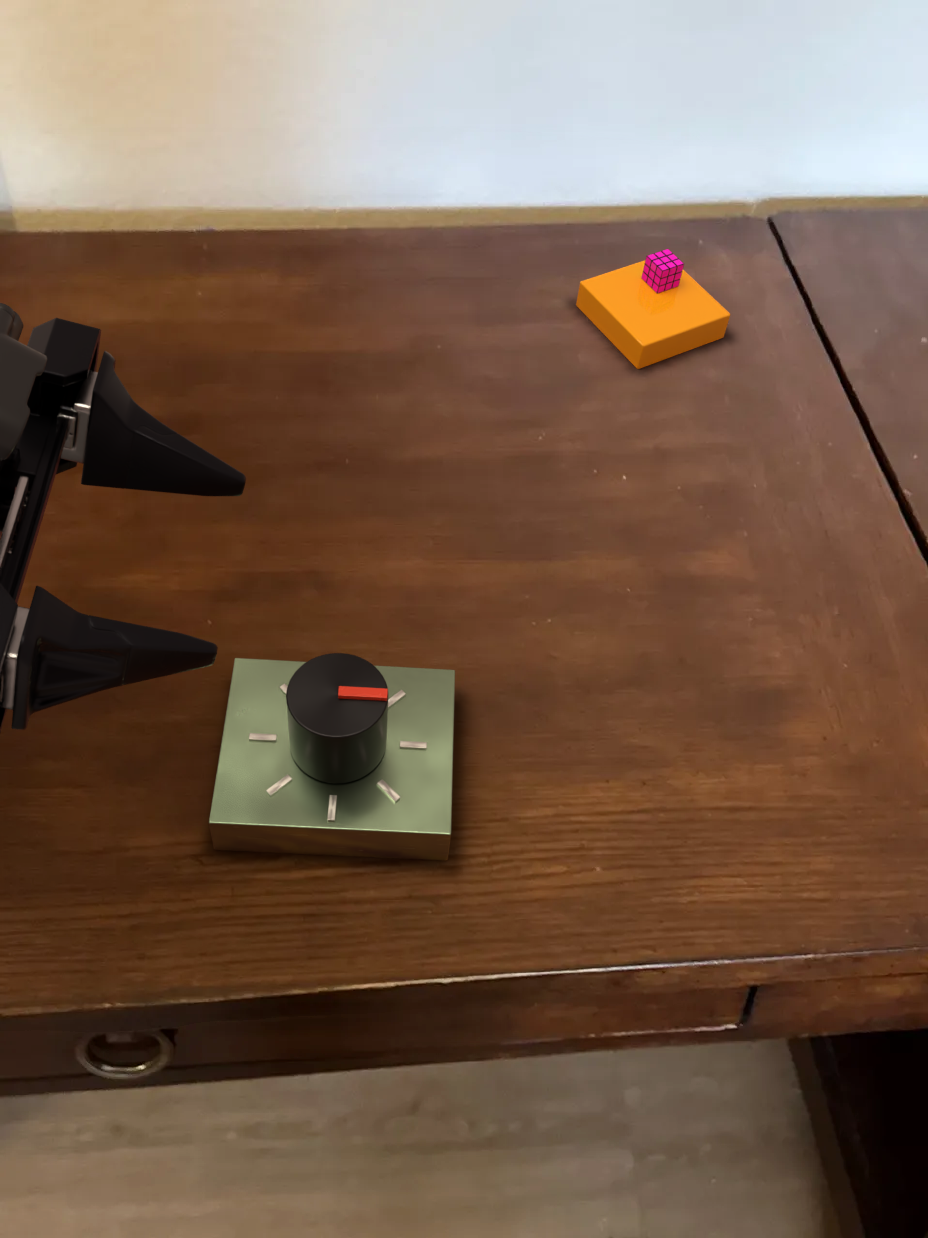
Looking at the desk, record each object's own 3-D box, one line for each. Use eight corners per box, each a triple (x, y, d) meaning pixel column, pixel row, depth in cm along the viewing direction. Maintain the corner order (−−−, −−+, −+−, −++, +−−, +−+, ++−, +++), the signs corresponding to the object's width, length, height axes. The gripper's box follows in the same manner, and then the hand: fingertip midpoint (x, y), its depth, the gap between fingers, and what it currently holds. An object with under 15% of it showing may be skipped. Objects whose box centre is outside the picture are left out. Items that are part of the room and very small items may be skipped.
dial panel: (213, 850, 62) (207, 821, 60) (238, 688, 68) (234, 655, 66) (447, 861, 63) (451, 833, 60) (451, 699, 69) (455, 667, 66)
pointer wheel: (284, 781, 61) (280, 731, 58) (294, 698, 64) (291, 646, 61) (383, 786, 62) (385, 736, 58) (389, 703, 65) (391, 651, 61)
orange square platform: (724, 338, 90) (738, 291, 86) (637, 370, 87) (648, 323, 84) (660, 276, 94) (671, 229, 90) (575, 305, 91) (583, 257, 87)
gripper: (-293, 532, 35) (237, 639, 39) (-105, 165, 47) (294, 277, 51) (-247, 723, 44) (186, 795, 48) (-96, 374, 55) (244, 456, 59)
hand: (230, 566), depth 51 cm, fingers open, 9 cm apart
